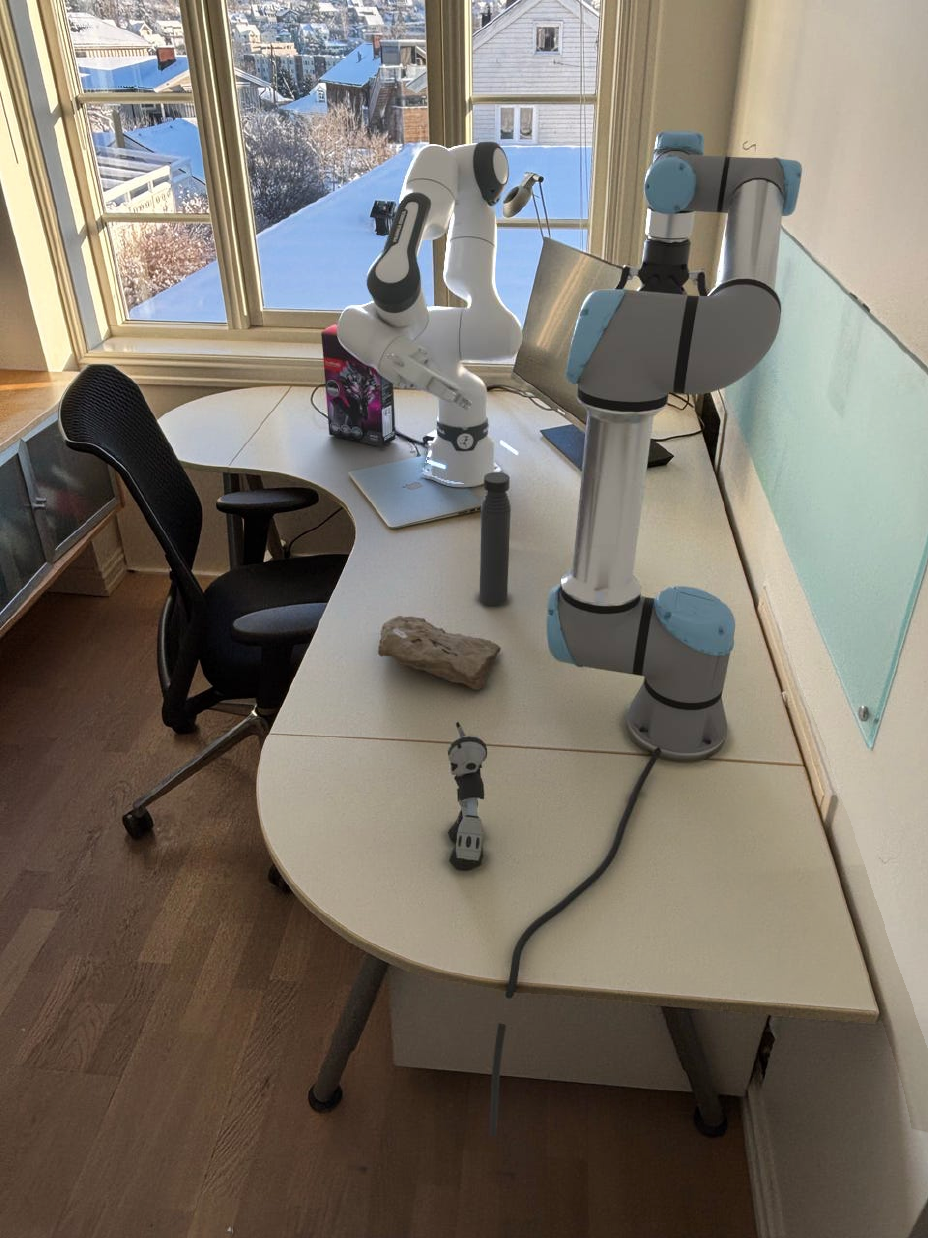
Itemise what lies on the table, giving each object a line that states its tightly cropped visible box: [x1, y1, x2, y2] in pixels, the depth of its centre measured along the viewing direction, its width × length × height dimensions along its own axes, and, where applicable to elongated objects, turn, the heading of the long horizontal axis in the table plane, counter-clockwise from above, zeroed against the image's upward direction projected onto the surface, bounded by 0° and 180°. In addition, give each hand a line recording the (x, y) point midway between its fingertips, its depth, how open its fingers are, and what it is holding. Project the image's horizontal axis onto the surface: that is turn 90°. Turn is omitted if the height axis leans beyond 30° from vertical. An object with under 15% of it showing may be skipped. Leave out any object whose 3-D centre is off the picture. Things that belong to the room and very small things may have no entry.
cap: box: [483, 471, 511, 493], centre depth 161 cm, size 4×4×2 cm
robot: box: [447, 721, 488, 871], centre depth 117 cm, size 20×5×20 cm, turn 3°
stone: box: [377, 615, 502, 691], centre depth 155 cm, size 21×15×6 cm
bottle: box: [479, 491, 512, 608], centre depth 167 cm, size 5×5×25 cm
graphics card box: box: [320, 324, 396, 448], centre depth 230 cm, size 17×7×27 cm, turn 62°
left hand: (461, 402), depth 173 cm, fingers open, 8 cm apart
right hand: (652, 364), depth 163 cm, fingers open, 13 cm apart
